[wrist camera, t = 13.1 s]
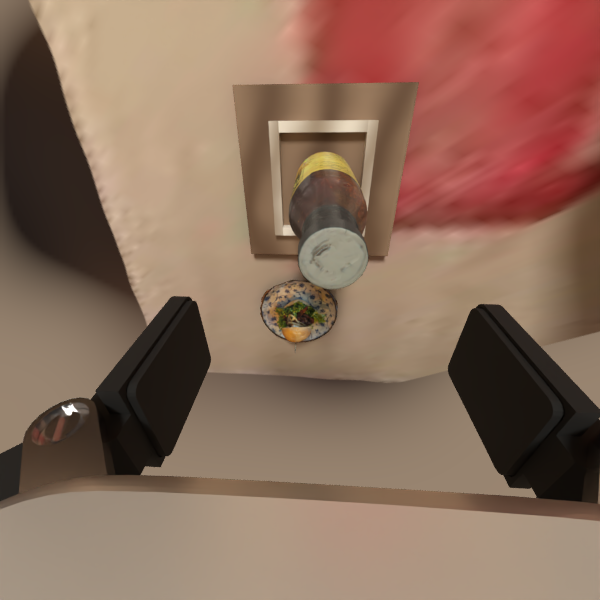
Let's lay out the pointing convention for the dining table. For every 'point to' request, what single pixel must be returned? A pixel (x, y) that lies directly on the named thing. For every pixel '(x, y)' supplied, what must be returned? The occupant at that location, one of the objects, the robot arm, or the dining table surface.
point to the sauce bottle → (329, 221)
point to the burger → (298, 311)
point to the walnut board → (321, 138)
